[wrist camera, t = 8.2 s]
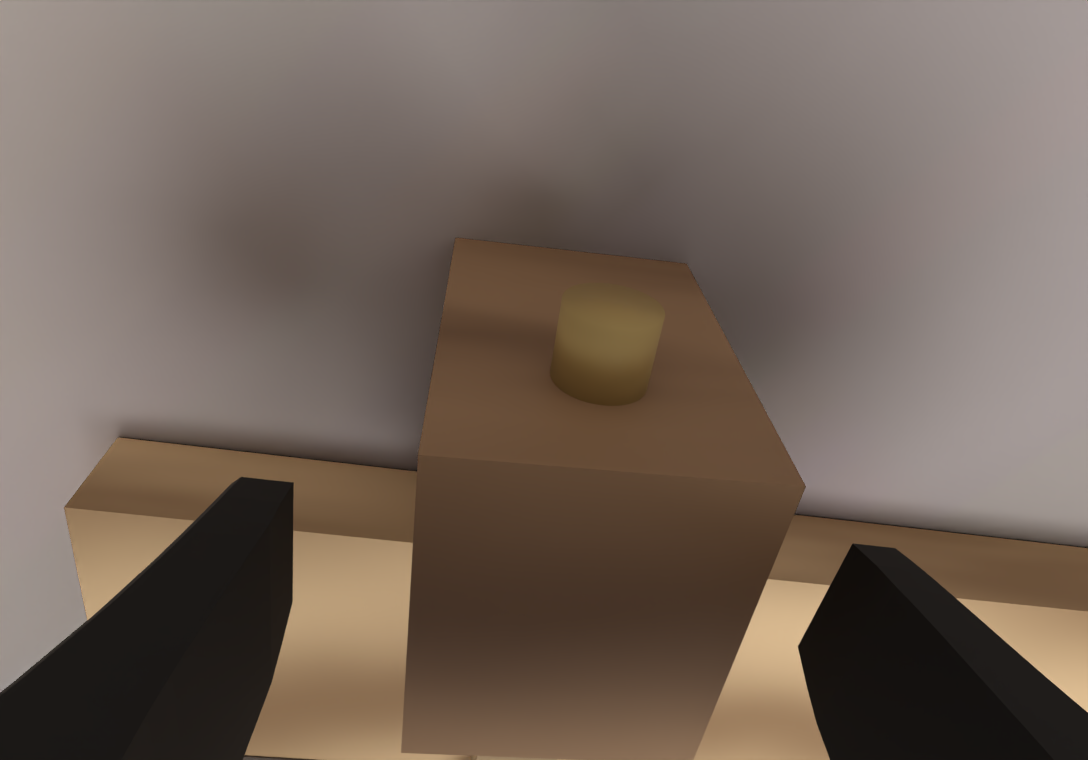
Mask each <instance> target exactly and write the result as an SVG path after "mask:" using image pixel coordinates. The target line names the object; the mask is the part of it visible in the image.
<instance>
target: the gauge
mask: <svg viewBox="0 0 1088 760" xmlns="http://www.w3.org/2000/svg"><path fill="white" fill-rule="evenodd" d="M805 487H806V486H805V484H804V482H803V480H802V478H801V477H800V475H799V473H798V471H797V469H796V467H795V465H794V464H793V462H792V460H791V458H790V456H789V454H788V452H787V450H786V449H785V447H784V445H783V443H782V441H781V439H780V437H779V435H778V434H777V432H776V430H775V428H774V426H773V424H772V422H771V421H770V419H769V417H768V415H767V413H766V411H765V409H764V407H763V406H762V404H761V402H760V400H759V398H758V396H757V394H756V392H755V391H754V389H753V387H752V385H751V383H750V381H749V379H748V378H747V376H746V374H745V372H744V370H743V368H742V366H741V364H740V363H739V361H738V359H737V357H736V355H735V353H734V351H733V349H732V348H731V346H730V344H729V342H728V340H727V338H726V336H725V334H724V333H723V331H722V329H721V327H720V325H719V323H718V321H717V320H716V318H715V316H714V314H713V312H712V310H711V308H710V306H709V305H708V303H707V301H706V299H705V297H704V295H703V293H702V291H701V290H700V288H699V286H698V284H697V282H696V280H695V278H694V277H693V275H692V273H691V271H690V269H689V267H688V265H687V264H686V263H677V262H668V261H659V260H650V259H641V258H632V257H623V256H615V255H606V254H597V253H588V252H579V251H570V250H561V249H552V248H544V247H535V246H526V245H517V244H508V243H499V242H490V241H481V240H473V239H464V238H455V243H454V249H453V255H452V261H451V266H450V272H449V278H448V284H447V289H446V295H445V301H444V307H443V313H442V318H441V324H440V330H439V336H438V342H437V347H436V353H435V359H434V365H433V371H432V376H431V382H430V388H429V394H428V400H427V405H426V411H425V417H424V423H423V428H422V434H421V440H420V446H419V452H418V463H417V480H416V498H415V515H414V533H413V550H412V568H411V585H410V603H409V620H408V638H407V655H406V673H405V691H404V708H403V726H402V743H401V753H416V754H442V755H468V756H471V760H557V759H571V760H694V757H695V755H696V752H697V750H698V747H699V745H700V743H701V740H702V738H703V735H704V733H705V730H706V728H707V726H708V723H709V721H710V718H711V716H712V713H713V711H714V708H715V706H716V704H717V701H718V699H719V696H720V694H721V691H722V689H723V687H724V684H725V682H726V679H727V677H728V674H729V672H730V670H731V667H732V665H733V662H734V660H735V657H736V655H737V653H738V650H739V648H740V645H741V643H742V640H743V638H744V635H745V633H746V631H747V628H748V626H749V623H750V621H751V618H752V616H753V614H754V611H755V609H756V606H757V604H758V601H759V599H760V597H761V594H762V592H763V589H764V587H765V584H766V582H767V580H768V577H769V575H770V572H771V570H772V567H773V565H774V562H775V560H776V558H777V555H778V553H779V550H780V548H781V545H782V543H783V541H784V538H785V536H786V533H787V531H788V528H789V526H790V524H791V521H792V519H793V516H794V514H795V511H796V509H797V507H798V504H799V502H800V499H801V497H802V494H803V492H804V489H805Z"/></svg>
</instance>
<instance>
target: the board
mask: <svg viewBox="0 0 1088 760" xmlns="http://www.w3.org/2000/svg"><path fill="white" fill-rule="evenodd" d="M240 477H248V478H257V479H266V480H275V481H284V482H294V500H293V602H292V606H291V610H290V614H289V618H288V622H287V626H286V630H285V634H284V638H283V642H282V646H281V650H280V653H279V657H278V661H277V664H276V668H275V672H274V676H273V679H272V683H271V686H270V688H269V691H268V694H267V696H266V699H265V702H264V705H263V707H262V710H261V713H260V715H259V718H258V721H257V723H256V726H255V729H254V731H253V734H252V736H251V739H250V742H249V744H248V747H247V750H246V752H245V755H244V758H243V760H471V756H468V755H442V754H416V753H401V743H402V726H403V708H404V691H405V673H406V655H407V638H408V620H409V603H410V585H411V568H412V550H413V533H414V515H415V498H416V480H417V472H416V471H407V470H399V469H390V468H381V467H372V466H364V465H355V464H346V463H337V462H329V461H320V460H311V459H302V458H294V457H285V456H276V455H267V454H259V453H250V452H241V451H232V450H224V449H215V448H206V447H197V446H189V445H180V444H171V443H162V442H154V441H145V440H136V439H127V438H117V439H116V441H115V442H114V443H113V444H112V446H111V447H110V448H109V450H108V451H107V452H106V454H105V455H104V456H103V457H102V459H101V460H100V461H99V463H98V464H97V465H96V467H95V468H94V469H93V470H92V472H91V473H90V474H89V476H88V477H87V478H86V480H85V481H84V482H83V483H82V485H81V486H80V487H79V489H78V490H77V491H76V493H75V494H74V495H73V497H72V498H71V499H70V500H69V502H68V503H67V504H66V506H65V507H64V509H65V514H66V519H67V524H68V529H69V534H70V539H71V543H72V548H73V553H74V558H75V563H76V568H77V573H78V577H79V582H80V587H81V592H82V597H83V602H84V607H85V611H86V616H87V620H89V619H90V618H91V617H92V616H93V615H94V614H95V613H97V612H98V611H99V610H100V609H101V608H102V607H103V606H104V605H106V604H107V603H108V602H109V601H110V600H111V599H112V598H113V597H114V596H115V595H116V594H118V593H119V592H120V591H121V590H122V589H123V588H124V587H125V586H126V585H127V584H129V583H130V582H131V581H132V580H133V579H134V578H135V577H136V576H137V575H138V574H139V573H141V572H142V571H143V570H144V569H145V568H146V567H147V566H148V565H149V564H150V563H151V562H153V561H154V560H155V559H156V558H157V557H158V556H159V555H160V554H161V553H162V552H163V551H164V550H165V549H166V548H167V547H168V546H169V545H170V544H171V543H172V542H173V541H174V540H176V539H177V538H178V537H179V536H180V535H181V534H182V533H183V532H184V531H185V530H186V529H187V528H188V527H189V526H190V525H191V524H192V523H193V522H194V521H195V520H196V519H197V518H198V517H199V516H200V515H201V514H202V513H203V512H204V511H205V510H206V509H207V508H208V507H209V506H210V505H211V504H212V503H213V502H214V501H215V500H216V499H217V498H218V497H219V496H220V495H221V494H222V493H223V492H224V490H225V489H226V488H227V487H228V486H229V485H230V484H231V483H233V482H234V481H236V480H237V479H239V478H240ZM852 543H854V544H863V545H872V546H881V547H891V548H896V549H897V550H898V551H900V552H901V553H902V554H904V555H905V556H906V557H907V558H909V559H910V560H911V561H913V562H914V563H915V564H916V565H917V566H919V567H920V568H921V569H922V570H924V571H925V572H926V573H927V574H928V575H930V576H931V577H932V578H933V579H934V580H935V581H937V582H938V583H939V584H940V585H941V586H942V587H944V588H945V589H946V590H947V591H948V592H949V593H951V594H952V595H953V596H954V597H955V598H956V599H957V600H959V601H960V602H961V603H962V604H963V605H964V606H965V607H967V608H968V609H969V610H970V611H971V612H972V613H973V614H975V615H976V616H977V617H978V618H979V619H980V620H981V621H982V622H984V623H985V624H986V625H987V626H988V627H989V628H990V629H992V630H993V631H994V632H995V633H996V634H997V635H998V636H1000V637H1001V638H1002V639H1003V640H1004V641H1005V642H1006V643H1008V644H1009V645H1010V646H1011V647H1012V648H1013V649H1014V650H1016V651H1017V652H1018V653H1019V654H1020V655H1021V656H1022V657H1023V658H1025V659H1026V660H1027V661H1028V662H1029V663H1030V664H1032V665H1033V666H1034V667H1035V668H1036V669H1037V670H1038V671H1040V672H1041V673H1042V674H1043V675H1044V676H1045V677H1047V678H1048V679H1049V680H1050V681H1051V682H1052V683H1054V684H1055V685H1056V686H1057V687H1058V688H1059V689H1061V690H1062V691H1063V692H1064V693H1065V694H1066V695H1068V696H1069V697H1070V698H1071V699H1072V700H1074V701H1075V702H1076V703H1077V704H1078V705H1079V706H1081V707H1082V708H1083V709H1084V710H1085V711H1087V712H1088V548H1081V547H1073V546H1064V545H1055V544H1046V543H1038V542H1029V541H1020V540H1011V539H1003V538H994V537H985V536H976V535H968V534H959V533H950V532H941V531H933V530H924V529H915V528H906V527H898V526H889V525H880V524H871V523H863V522H854V521H845V520H836V519H828V518H819V517H810V516H801V515H794V516H793V519H792V521H791V524H790V526H789V528H788V531H787V533H786V536H785V538H784V541H783V543H782V545H781V548H780V550H779V553H778V555H777V558H776V560H775V562H774V565H773V567H772V570H771V572H770V575H769V577H768V580H767V582H766V584H765V587H764V589H763V592H762V594H761V597H760V599H759V601H758V604H757V606H756V609H755V611H754V614H753V616H752V618H751V621H750V623H749V626H748V628H747V631H746V633H745V635H744V638H743V640H742V643H741V645H740V648H739V650H738V653H737V655H736V657H735V660H734V662H733V665H732V667H731V670H730V672H729V674H728V677H727V679H726V682H725V684H724V687H723V689H722V691H721V694H720V696H719V699H718V701H717V704H716V706H715V708H714V711H713V713H712V716H711V718H710V721H709V723H708V726H707V728H706V730H705V733H704V735H703V738H702V740H701V743H700V745H699V747H698V750H697V752H696V755H695V757H694V760H830V758H829V756H828V753H827V750H826V748H825V745H824V742H823V740H822V737H821V734H820V731H819V729H818V726H817V723H816V720H815V716H814V712H813V708H812V704H811V701H810V697H809V693H808V689H807V685H806V681H805V676H804V672H803V667H802V663H801V659H800V654H799V650H798V645H799V643H800V641H801V639H802V638H803V636H804V634H805V632H806V630H807V628H808V626H809V624H810V622H811V621H812V619H813V617H814V615H815V613H816V611H817V609H818V607H819V606H820V604H821V602H822V600H823V598H824V596H825V594H826V592H827V590H828V589H829V587H830V585H831V583H832V581H833V579H834V577H835V575H836V574H837V572H838V570H839V568H840V566H841V564H842V562H843V560H844V558H845V557H846V555H847V553H848V551H849V549H850V547H851V545H852ZM557 760H571V759H557Z"/></svg>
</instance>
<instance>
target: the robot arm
mask: <svg viewBox="0 0 1088 760" xmlns="http://www.w3.org/2000/svg"><path fill="white" fill-rule="evenodd" d="M293 500H294V482H284V481H275V480H266V479H257V478H248V477H240V478H239V479H237V480H236V481H234V482H233V483H231V484H230V485H229V486H228V487H227V488H226V489H225V490H224V492H223V493H222V494H221V495H220V496H219V497H218V498H217V499H216V500H215V501H214V502H213V503H212V504H211V505H210V506H209V507H208V508H207V509H206V510H205V511H204V512H203V513H202V514H201V515H200V516H199V517H198V518H197V519H196V520H195V521H194V522H193V523H192V524H191V525H190V526H189V527H188V528H187V529H186V530H185V531H184V532H183V533H182V534H181V535H180V536H179V537H178V538H177V539H176V540H174V541H173V542H172V543H171V544H170V545H169V546H168V547H167V548H166V549H165V550H164V551H163V552H162V553H161V554H160V555H159V556H158V557H157V558H156V559H155V560H154V561H153V562H151V563H150V564H149V565H148V566H147V567H146V568H145V569H144V570H143V571H142V572H141V573H139V574H138V575H137V576H136V577H135V578H134V579H133V580H132V581H131V582H130V583H129V584H127V585H126V586H125V587H124V588H123V589H122V590H121V591H120V592H119V593H118V594H116V595H115V596H114V597H113V598H112V599H111V600H110V601H109V602H108V603H107V604H106V605H104V606H103V607H102V608H101V609H100V610H99V611H98V612H97V613H95V614H94V615H93V616H92V617H91V618H90V619H89V620H87V621H86V622H85V623H84V624H83V625H81V626H80V627H79V628H78V629H77V630H76V631H74V632H73V633H72V634H71V635H70V636H68V637H67V638H66V639H65V640H64V641H62V642H61V643H60V644H59V645H58V646H56V647H55V648H54V649H53V650H52V651H50V652H49V653H48V654H47V655H46V656H44V657H43V658H42V659H41V660H40V661H38V662H37V663H36V664H35V665H34V666H32V667H31V668H30V669H29V670H28V671H26V672H25V673H24V674H23V675H22V676H20V677H19V678H18V679H17V680H16V681H14V682H13V683H12V684H11V685H9V686H8V687H7V688H6V689H4V690H3V691H2V692H0V760H243V758H244V755H245V752H246V750H247V747H248V744H249V742H250V739H251V736H252V734H253V731H254V729H255V726H256V723H257V721H258V718H259V715H260V713H261V710H262V707H263V705H264V702H265V699H266V696H267V694H268V691H269V688H270V686H271V683H272V679H273V676H274V672H275V668H276V664H277V661H278V657H279V653H280V650H281V646H282V642H283V638H284V634H285V630H286V626H287V622H288V618H289V614H290V610H291V606H292V602H293ZM798 650H799V654H800V659H801V663H802V667H803V672H804V676H805V681H806V685H807V689H808V693H809V697H810V701H811V704H812V708H813V712H814V716H815V720H816V723H817V726H818V729H819V731H820V734H821V737H822V740H823V742H824V745H825V748H826V750H827V753H828V756H829V758H830V760H1088V712H1087V711H1085V710H1084V709H1083V708H1082V707H1081V706H1079V705H1078V704H1077V703H1076V702H1075V701H1074V700H1072V699H1071V698H1070V697H1069V696H1068V695H1066V694H1065V693H1064V692H1063V691H1062V690H1061V689H1059V688H1058V687H1057V686H1056V685H1055V684H1054V683H1052V682H1051V681H1050V680H1049V679H1048V678H1047V677H1045V676H1044V675H1043V674H1042V673H1041V672H1040V671H1038V670H1037V669H1036V668H1035V667H1034V666H1033V665H1032V664H1030V663H1029V662H1028V661H1027V660H1026V659H1025V658H1023V657H1022V656H1021V655H1020V654H1019V653H1018V652H1017V651H1016V650H1014V649H1013V648H1012V647H1011V646H1010V645H1009V644H1008V643H1006V642H1005V641H1004V640H1003V639H1002V638H1001V637H1000V636H998V635H997V634H996V633H995V632H994V631H993V630H992V629H990V628H989V627H988V626H987V625H986V624H985V623H984V622H982V621H981V620H980V619H979V618H978V617H977V616H976V615H975V614H973V613H972V612H971V611H970V610H969V609H968V608H967V607H965V606H964V605H963V604H962V603H961V602H960V601H959V600H957V599H956V598H955V597H954V596H953V595H952V594H951V593H949V592H948V591H947V590H946V589H945V588H944V587H942V586H941V585H940V584H939V583H938V582H937V581H935V580H934V579H933V578H932V577H931V576H930V575H928V574H927V573H926V572H925V571H924V570H922V569H921V568H920V567H919V566H917V565H916V564H915V563H914V562H913V561H911V560H910V559H909V558H907V557H906V556H905V555H904V554H902V553H901V552H900V551H898V550H897V549H896V548H891V547H881V546H872V545H863V544H854V543H852V545H851V547H850V549H849V551H848V553H847V555H846V557H845V558H844V560H843V562H842V564H841V566H840V568H839V570H838V572H837V574H836V575H835V577H834V579H833V581H832V583H831V585H830V587H829V589H828V590H827V592H826V594H825V596H824V598H823V600H822V602H821V604H820V606H819V607H818V609H817V611H816V613H815V615H814V617H813V619H812V621H811V622H810V624H809V626H808V628H807V630H806V632H805V634H804V636H803V638H802V639H801V641H800V643H799V645H798Z"/></svg>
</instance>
